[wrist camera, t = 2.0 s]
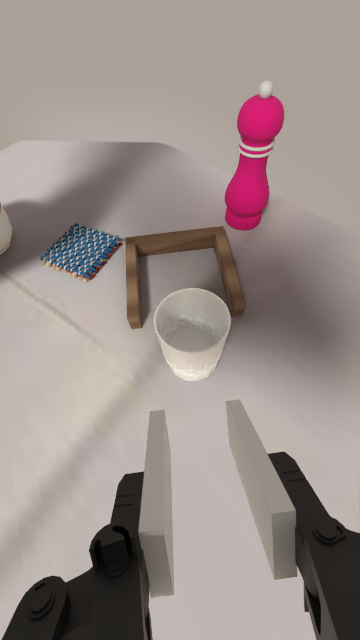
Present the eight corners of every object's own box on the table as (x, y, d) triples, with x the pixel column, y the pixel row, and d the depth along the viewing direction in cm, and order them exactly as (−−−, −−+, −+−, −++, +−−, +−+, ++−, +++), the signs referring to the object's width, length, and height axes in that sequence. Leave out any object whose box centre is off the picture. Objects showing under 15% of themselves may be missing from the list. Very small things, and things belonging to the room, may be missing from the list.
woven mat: (78, 228, 52) (74, 219, 50) (125, 244, 49) (122, 236, 47) (40, 266, 47) (34, 257, 45) (90, 287, 44) (85, 278, 43)
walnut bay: (242, 315, 40) (245, 303, 37) (131, 329, 39) (127, 318, 37) (221, 240, 48) (222, 226, 45) (129, 251, 47) (125, 237, 45)
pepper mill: (236, 201, 53) (256, 65, 36) (270, 215, 50) (309, 76, 33) (214, 221, 50) (225, 85, 33) (249, 238, 48) (279, 99, 30)
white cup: (174, 325, 39) (168, 280, 31) (228, 339, 38) (238, 297, 29) (154, 376, 36) (141, 341, 27) (213, 394, 34) (220, 363, 25)
